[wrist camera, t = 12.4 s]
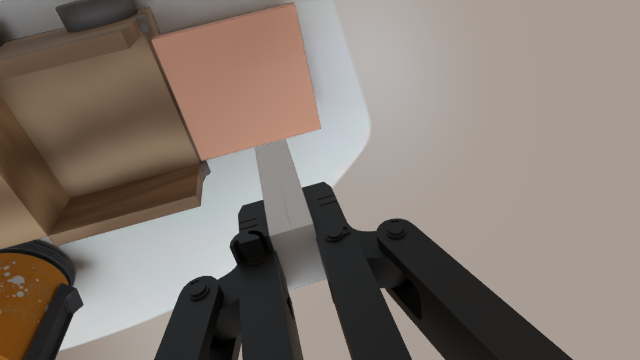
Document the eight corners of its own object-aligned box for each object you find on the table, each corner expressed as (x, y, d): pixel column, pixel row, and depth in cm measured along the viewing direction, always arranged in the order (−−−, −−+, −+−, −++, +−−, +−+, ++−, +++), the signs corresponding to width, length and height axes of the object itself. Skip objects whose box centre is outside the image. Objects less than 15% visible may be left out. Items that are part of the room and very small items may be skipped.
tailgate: (151, 40, 27) (295, 4, 28) (154, 35, 29) (291, 1, 29) (201, 161, 33) (321, 128, 33) (202, 152, 34) (317, 121, 35)
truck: (-73, 35, 29) (-193, 73, 21) (148, -17, 30) (118, -1, 22) (50, 205, 38) (0, 279, 30) (217, 160, 39) (215, 219, 31)
